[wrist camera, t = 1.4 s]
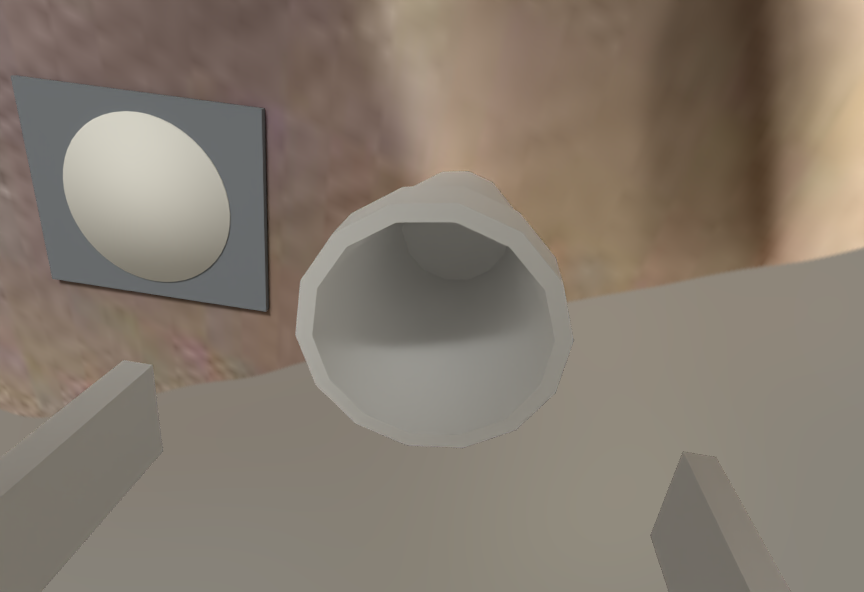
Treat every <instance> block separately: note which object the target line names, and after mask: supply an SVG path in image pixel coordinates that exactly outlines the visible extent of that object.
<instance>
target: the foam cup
mask: <svg viewBox="0 0 864 592" xmlns="http://www.w3.org/2000/svg"><path fill="white" fill-rule="evenodd" d="M296 338H297V340H298V343H299V345H300V347H301V350H302V352H303V355H304V357H305V360H306V362H307V365H308V367H309V369H310V372H311V375H312V377H313V379H314V382H315V384H316V386H317V387H318V388H319V389H320V390H321V391H322V392H323V393H324V394H325V395H326V396H327V397H329V399H331V400H332V401H333V402H334V403H335V404H336V405H337V406H338V407H339V408H340V409H341V410H342V411H343V412H344V413H345V414H346V415H347V416H348V417H349V418H350V419H351V420H352V421H353V422H354V423H355V424H357V425H360V426H362V427H365V428H367V429H369V430H371V431H374V432H376V433H379V434H381V435H383V436H386V437H388V438H390V439H393V440H395V441H397V442H400V443H402V444H405V445H407V446H427V447H451V448H465V447H468V446H471V445H474V444H477V443H480V442H483V441H486V440H488V439H492V438H495V437H497V436H500V435H503V434H506V433H509V432H512V431H515V430H517V429H518V428H519V427H520V426H521V425H522V424H523V423H524V422H525V421H526V420H527V419H528V418H529V417H530V416H531V415H533V414H534V413H535V412H536V411H537V410H538V409H539V408H540V407H541V406H542V405H543V404H544V403H546V402H547V401H548V400H549V399H550V398H551V397H552V396H553V395H554V394H555V393H556V390H557V388H558V385H559V382H560V379H561V376H562V373H563V371H564V368H565V364H566V362H567V359H568V356H569V353H570V350H571V348H572V345H573V342H574V339H573V334H572V328H571V323H570V317H569V312H568V306H567V301H566V295H565V290H564V285H563V281H562V277H561V274H560V270H559V267H558V264H557V260H556V257H555V256H554V255H553V253H552V252H551V251H550V250H549V248H548V247H547V246H546V245H545V243H544V242H543V241H542V240H541V238H540V237H539V236H538V235H537V233H536V232H535V231H534V230H533V228H532V227H531V226H530V225H529V223H528V222H527V221H526V220H525V218H524V217H523V216H522V215H521V213H520V212H518V211H516V210H514V209H513V207H512V206H511V204H510V203H509V202H508V201H507V199H506V198H505V197H504V196H503V194H502V193H501V192H500V191H499V189H498V188H497V187H496V186H495V184H494V183H493V182H491V181H489V180H487V179H484V178H482V177H480V176H478V175H476V174H474V173H472V172H469V171H452V172H440V173H438V174H436V175H435V176H433V177H431V178H429V179H427V180H425V181H423V182H421V183H419V184H417V185H415V186H413V187H402V188H400V189H398V190H396V191H394V192H392V193H390V194H388V195H386V196H384V197H382V198H380V199H378V200H376V201H374V202H372V203H371V204H369V205H367V206H365V207H363V208H361V209H359V210H357V211H355V212H353V213H351V214H350V215H349V217H348V218H347V219H346V220H345V221H344V222H343V223H342V224H341V225H340V226H339V227H338V228H337V229H336V230H335V231H334V233H333V234H332V235H331V237H330V238H329V240H328V241H327V243H326V244H325V246H324V247H323V248H322V250H321V251H320V253H319V254H318V256H317V257H316V259H315V260H314V262H313V263H312V264H311V266H310V267H309V269H308V270H307V272H306V273H305V275H304V276H303V278H302V279H301V280H300V290H299V301H298V312H297V324H296Z"/></svg>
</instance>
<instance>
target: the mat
mask: <svg viewBox="0 0 864 592" xmlns="http://www.w3.org/2000/svg"><path fill="white" fill-rule="evenodd" d="M11 80H12V85H13V89H14V94H15V99H16V104H17V109H18V114H19V119H20V123H21V128H22V133H23V138H24V143H25V148H26V153H27V158H28V162H29V167H30V172H31V177H32V182H33V187H34V192H35V196H36V201H37V206H38V211H39V216H40V221H41V226H42V230H43V235H44V240H45V245H46V250H47V255H48V260H49V264H50V269H51V274H52V279H57V280H64V281H70V282H77V283H83V284H90V285H96V286H103V287H109V288H116V289H122V290H129V291H135V292H142V293H148V294H155V295H161V296H167V297H174V298H180V299H187V300H193V301H200V302H206V303H213V304H219V305H226V306H232V307H239V308H245V309H252V310H258V311H265V312H266V311H267V310H268V309H269V304H268V253H267V202H266V151H265V108H258V107H250V106H243V105H235V104H228V103H220V102H213V101H205V100H198V99H190V98H183V97H175V96H167V95H160V94H152V93H145V92H137V91H130V90H122V89H115V88H107V87H100V86H92V85H85V84H77V83H69V82H62V81H54V80H47V79H39V78H32V77H24V76H11Z"/></svg>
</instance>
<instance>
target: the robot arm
mask: <svg viewBox="0 0 864 592" xmlns="http://www.w3.org/2000/svg"><path fill="white" fill-rule="evenodd" d="M162 448H163V447H162V439H161V431H160V422H159V415H158V406H157V397H156V389H155V381H154V372H153V365H150V364H144V363H137V362H131V361H125V360H123V361H122V362H121V363H119V364H118V365H117V366H116V367H114V368H113V369H112V370H110V371H109V372H108V373H107V374H105V375H104V376H103V377H102V378H100V379H99V380H98V381H97V382H95V383H94V384H93V385H91V386H90V387H89V388H88V389H86V390H85V391H84V392H83V393H81V394H80V395H79V396H78V397H76V398H75V399H74V400H72V401H71V402H70V403H69V404H67V405H66V406H65V407H64V408H62V409H61V410H60V411H59V412H57V413H56V414H55V415H53V416H52V417H51V418H50V419H48V420H47V421H46V422H45V423H43V424H42V425H41V426H40V427H38V428H37V429H36V430H34V431H33V432H32V433H31V434H29V435H28V436H27V437H26V438H24V439H23V440H22V441H21V442H19V443H18V444H17V445H15V446H14V447H13V448H12V449H10V450H9V451H8V452H7V453H5V454H4V455H3V456H2V457H0V592H42V590H43V589H44V588H45V587H46V586H47V585H48V584H49V582H50V581H51V580H52V579H53V578H54V577H55V575H56V574H57V573H58V572H59V571H60V570H61V569H62V567H63V566H64V565H65V564H66V563H67V562H68V560H69V559H70V558H71V557H72V556H73V555H74V553H75V552H76V551H77V550H78V549H79V548H80V547H81V545H82V544H83V543H84V542H85V541H86V540H87V538H88V537H89V536H90V535H91V534H92V533H93V532H94V530H95V529H96V528H97V527H98V526H99V525H100V523H101V522H102V521H103V520H104V519H105V518H106V517H107V515H108V514H109V513H110V512H111V511H112V510H113V508H114V507H115V506H116V505H117V504H118V503H119V501H120V500H121V499H122V498H123V497H124V496H125V494H126V493H127V492H128V491H129V490H130V489H131V488H132V486H133V485H134V484H135V483H136V482H137V481H138V480H139V478H140V477H141V476H142V475H143V474H144V473H145V471H146V470H147V469H148V468H149V467H150V466H151V464H152V463H153V462H154V461H155V460H156V459H157V458H158V456H159V455H160V454H161V453H162V452H163V449H162ZM651 539H652V542H653V545H654V548H655V551H656V555H657V558H658V561H659V564H660V567H661V570H662V573H663V576H664V579H665V582H666V585H667V588H668V591H669V592H791V590H790V589H789V587H788V585H787V583H786V582H785V580H784V578H783V576H782V575H781V573H780V571H779V569H778V567H777V565H776V564H775V562H774V560H773V558H772V556H771V555H770V553H769V551H768V549H767V548H766V546H765V544H764V542H763V540H762V539H761V537H760V535H759V533H758V531H757V530H756V528H755V526H754V524H753V522H752V521H751V519H750V517H749V515H748V513H747V512H746V510H745V508H744V506H743V505H742V503H741V501H740V499H739V497H738V496H737V494H736V492H735V490H734V488H733V487H732V485H731V483H730V481H729V480H728V478H727V476H726V474H725V472H724V470H723V469H722V467H721V465H720V463H719V461H718V460H717V458H716V457H714V456H707V455H701V454H695V453H689V452H683V453H682V455H681V458H680V461H679V463H678V466H677V468H676V471H675V473H674V476H673V478H672V481H671V484H670V486H669V489H668V491H667V494H666V497H665V499H664V502H663V504H662V507H661V510H660V512H659V514H658V517H657V520H656V522H655V525H654V527H653V530H652V532H651Z"/></svg>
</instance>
